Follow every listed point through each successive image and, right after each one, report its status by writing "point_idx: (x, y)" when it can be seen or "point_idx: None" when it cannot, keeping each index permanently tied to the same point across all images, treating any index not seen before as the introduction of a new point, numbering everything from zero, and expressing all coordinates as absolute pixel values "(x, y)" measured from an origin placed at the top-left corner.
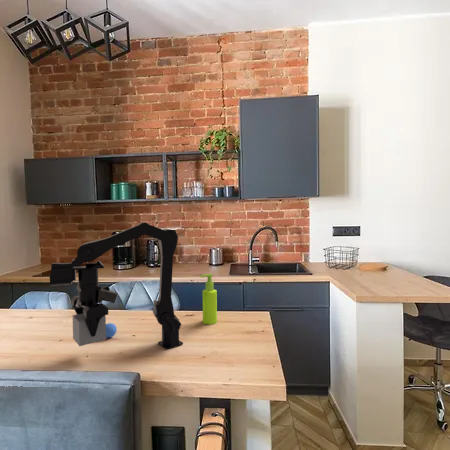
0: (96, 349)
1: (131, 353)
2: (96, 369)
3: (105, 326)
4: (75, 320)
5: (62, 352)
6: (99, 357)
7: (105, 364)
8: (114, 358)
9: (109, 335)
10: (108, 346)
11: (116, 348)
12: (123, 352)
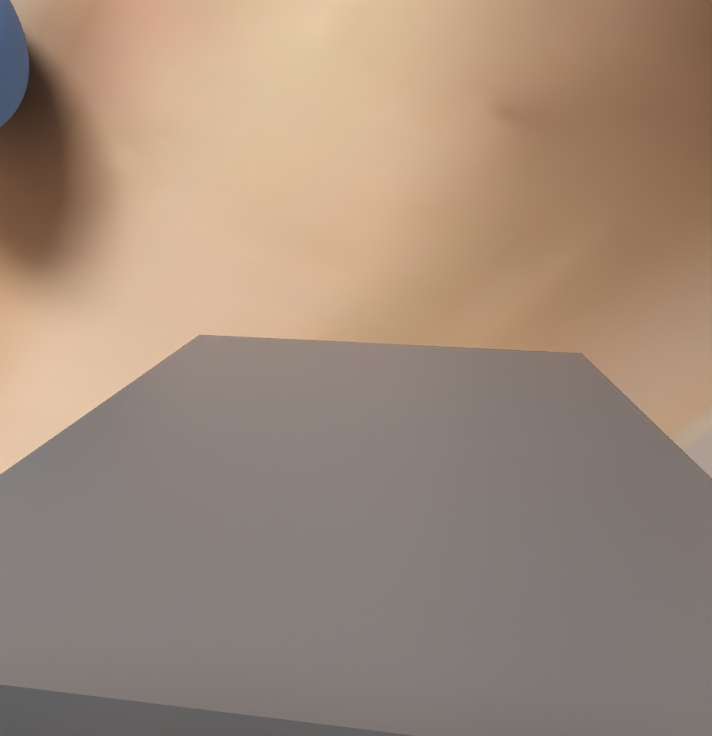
0: (258, 299)
1: (648, 9)
2: (670, 436)
3: (699, 476)
4: None
5: None
6: (459, 339)
7: (649, 349)
8: (600, 234)
9: (26, 73)
10: (258, 172)
11: (371, 115)
12: (539, 88)
